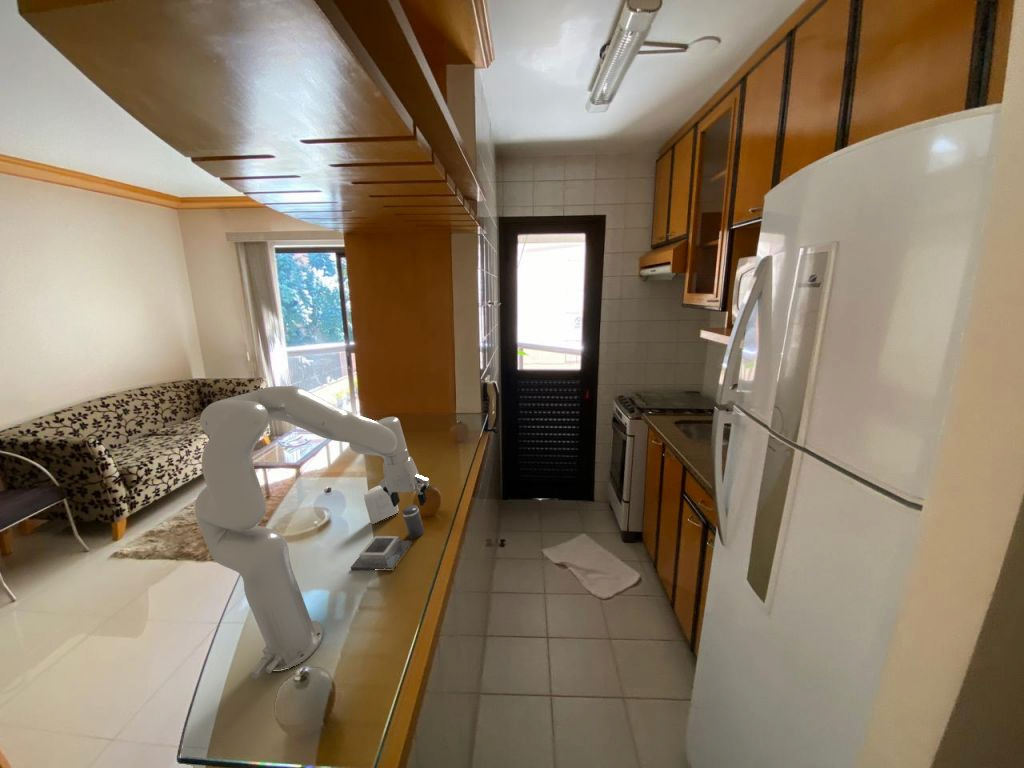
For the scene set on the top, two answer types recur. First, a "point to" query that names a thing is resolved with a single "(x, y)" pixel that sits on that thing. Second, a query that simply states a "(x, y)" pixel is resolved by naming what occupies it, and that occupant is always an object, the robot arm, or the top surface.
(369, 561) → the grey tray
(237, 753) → the top surface
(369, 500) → the photo printer
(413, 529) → the lens
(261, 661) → the robot arm
